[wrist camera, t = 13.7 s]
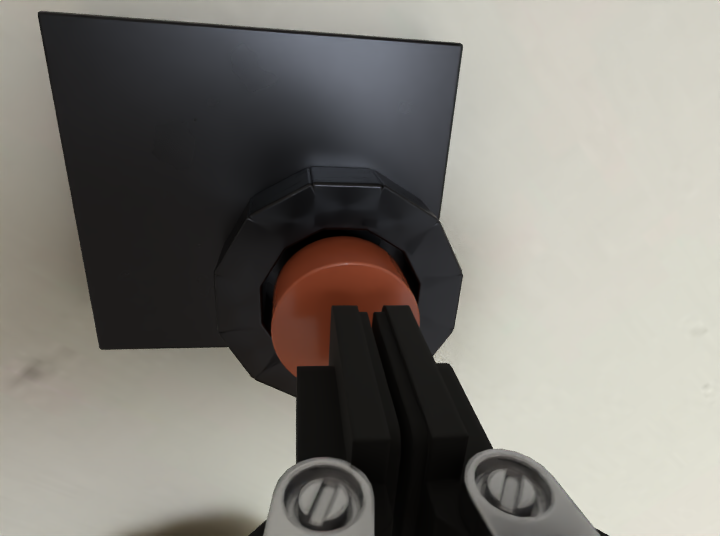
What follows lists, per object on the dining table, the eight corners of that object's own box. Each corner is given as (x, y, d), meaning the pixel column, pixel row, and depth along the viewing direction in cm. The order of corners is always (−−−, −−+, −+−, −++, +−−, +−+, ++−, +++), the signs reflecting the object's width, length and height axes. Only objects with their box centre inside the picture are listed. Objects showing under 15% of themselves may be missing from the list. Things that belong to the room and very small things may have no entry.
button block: (125, 333, 17) (78, 412, 13) (75, 16, 13) (-12, 2, 9) (412, 328, 18) (443, 398, 14) (448, 45, 14) (502, 42, 10)
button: (273, 354, 13) (271, 394, 12) (272, 234, 12) (269, 261, 10) (398, 351, 14) (412, 389, 12) (411, 236, 13) (429, 262, 11)
